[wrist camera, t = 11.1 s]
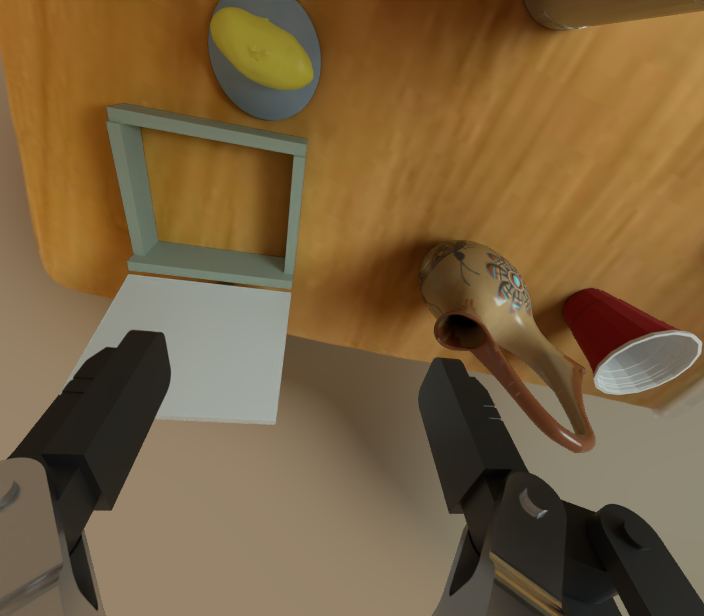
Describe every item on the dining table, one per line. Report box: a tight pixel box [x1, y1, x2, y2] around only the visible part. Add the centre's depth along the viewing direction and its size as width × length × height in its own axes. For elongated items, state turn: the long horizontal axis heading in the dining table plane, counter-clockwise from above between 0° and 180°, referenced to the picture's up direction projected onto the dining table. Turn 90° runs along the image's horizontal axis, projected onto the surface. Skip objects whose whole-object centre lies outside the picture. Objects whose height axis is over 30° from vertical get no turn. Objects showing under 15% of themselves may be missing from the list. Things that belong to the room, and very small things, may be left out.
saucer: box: [208, 0, 321, 120], centre depth 28 cm, size 9×9×1 cm
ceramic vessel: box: [418, 240, 595, 453], centre depth 31 cm, size 16×9×25 cm, turn 61°
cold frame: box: [106, 103, 308, 289], centre depth 32 cm, size 14×16×5 cm
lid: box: [59, 274, 291, 425], centre depth 30 cm, size 14×16×1 cm
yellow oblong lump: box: [210, 7, 314, 90], centre depth 26 cm, size 4×8×4 cm, turn 61°
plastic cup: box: [562, 288, 702, 395], centre depth 42 cm, size 11×11×12 cm
